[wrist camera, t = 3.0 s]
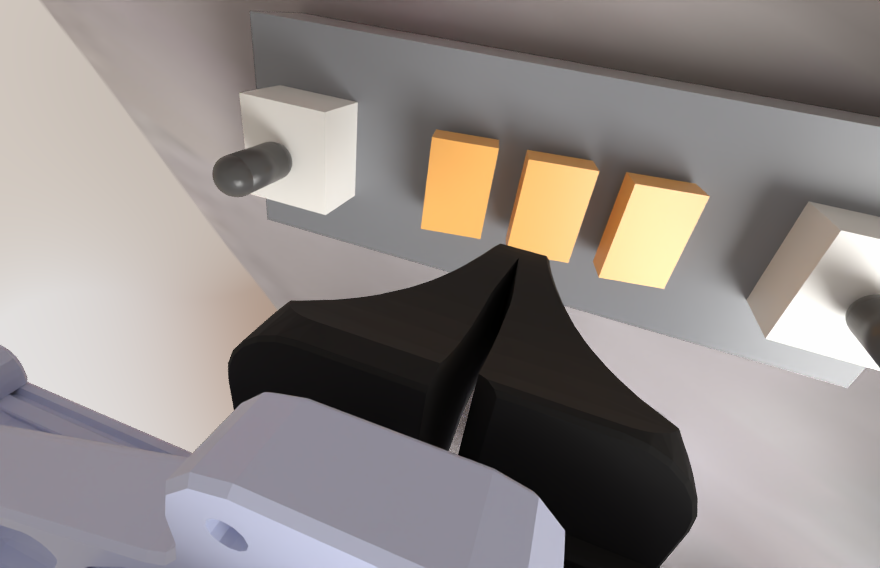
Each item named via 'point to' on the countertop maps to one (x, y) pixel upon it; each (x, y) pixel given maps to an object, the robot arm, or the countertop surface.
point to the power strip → (585, 137)
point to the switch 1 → (458, 183)
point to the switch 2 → (648, 229)
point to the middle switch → (551, 204)
